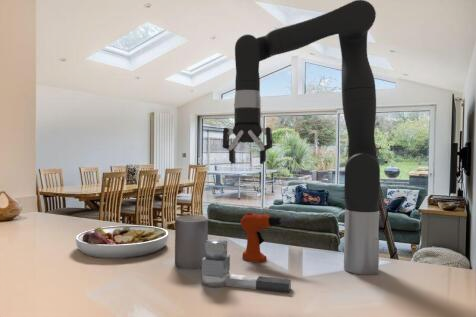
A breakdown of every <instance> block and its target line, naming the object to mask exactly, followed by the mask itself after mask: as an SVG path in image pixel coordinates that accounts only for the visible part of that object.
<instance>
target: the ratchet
mask: <svg viewBox="0 0 476 317" xmlns="http://www.w3.org/2000/svg"><path fill="white" fill-rule="evenodd" d="M201 284H202V286H204V285H205V286H204V287H208V288H222V287H232V288H233V287H234V288H242V289H243V288H244V289H251V290H256V291H257V290H258V291H267V292H275V293H282V294H283V293H284V294H290V291H291V288H292V287H291V286H292V280H291V278H282V277H281V278H280V277H271V276H263V275H261V276H260V275H259V276H251V275H242V274H231V273H230V271H229V272H228V273H227V274H226V275H225V276H224V277H215V276H205V275H202V274H201Z"/></svg>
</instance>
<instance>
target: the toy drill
mask: <svg viewBox="0 0 476 317" xmlns="http://www.w3.org/2000/svg"><path fill="white" fill-rule="evenodd" d="M296 222H297V219H295V218H282V219H281V217H279V216H272V215H268V214H265V213H261V214H260V213H254V212H252V211H251V212H250V211H249V212H247V213H246V214H245V215H244V216H242V218H241V219H240V225H241V228H242V229H243V230H244V231H245V232H246V241H247V242H246V247H245V248H246V249H245V250H244V251H243V252H242V255H241V256H242V259H243V260H244V261H246V262H252V263H263V262H266V261H267V256H266V255H264V254H263V253H262V252H261V246H260V245H261V244H263V243H264V242H265V239H264V238H263V236H262V234H261V232H260V231H261V230H265V229H268V228H272V227H275V226H280V225H281V224H283V223H284V224H285V223H296Z"/></svg>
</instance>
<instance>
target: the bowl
mask: <svg viewBox="0 0 476 317" xmlns="http://www.w3.org/2000/svg"><path fill="white" fill-rule="evenodd" d="M168 240H169V232H168V230H167V229H164V228H162V227H159V226H158V227H157V226H152V225H151V226H150V225H132V224H131V225H114V226H104V227H97V228H94V229H89V230H86V231H83V232H81V233H79V234H77V235H76V237H75V244H76V247H77V248H78V249H79V251H80V252H81V253H83V254H84V255H87V256H90V257H94V258H99V259H100V258H101V259H125V258H134V257H135V258H137V257H141V256H142V257H143V256H146V255H150V254H152V253H155V252H158V251H159V250H161V249H162V248H163V247H164V246H165V245H166V244H167V243H168Z"/></svg>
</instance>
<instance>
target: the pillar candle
mask: <svg viewBox="0 0 476 317" xmlns="http://www.w3.org/2000/svg"><path fill="white" fill-rule="evenodd" d="M174 225H175V227H174V229H175V230H174V265H175V266H176V267H177V268H180V269H186V268H188V269H189V270H190V269H191V268H192V269H193V268H194V269H200V268H202V259H203V258H204V257H205V241H207V240H209V235H208V234H209V233H208V232H209V230H208V228H209V217H207V216H205V215H201V214H200V215H199V214H193V213H191V214H187V215H186V214H185V215H180V216H176V217H175V222H174Z"/></svg>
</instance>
